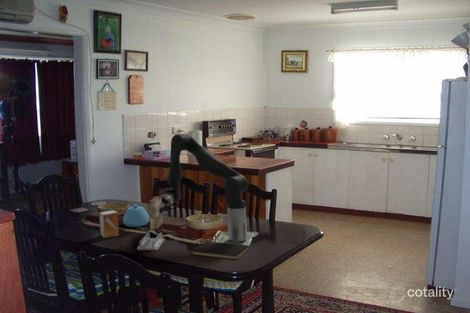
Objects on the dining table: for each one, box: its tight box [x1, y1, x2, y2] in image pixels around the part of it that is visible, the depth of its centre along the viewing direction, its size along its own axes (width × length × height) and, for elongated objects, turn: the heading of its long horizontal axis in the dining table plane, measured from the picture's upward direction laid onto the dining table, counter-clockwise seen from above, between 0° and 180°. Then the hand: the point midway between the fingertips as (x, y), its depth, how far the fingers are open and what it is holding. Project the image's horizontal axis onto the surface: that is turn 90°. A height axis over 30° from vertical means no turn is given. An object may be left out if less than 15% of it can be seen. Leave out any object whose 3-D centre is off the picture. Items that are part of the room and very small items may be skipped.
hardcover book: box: [191, 240, 250, 260], centre depth 256 cm, size 16×23×2 cm
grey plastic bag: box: [136, 232, 166, 251], centre depth 269 cm, size 10×16×4 cm, turn 174°
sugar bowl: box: [122, 204, 150, 228], centre depth 307 cm, size 15×15×12 cm
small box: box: [98, 210, 120, 239], centre depth 286 cm, size 8×6×13 cm
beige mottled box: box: [148, 195, 163, 230], centre depth 264 cm, size 4×10×14 cm, turn 174°
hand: (156, 211), depth 265 cm, fingers closed on beige mottled box, 3 cm apart
